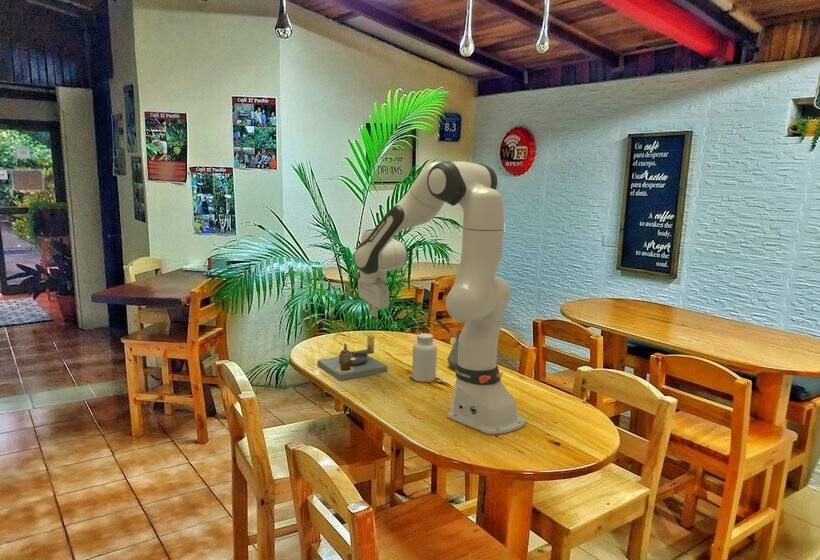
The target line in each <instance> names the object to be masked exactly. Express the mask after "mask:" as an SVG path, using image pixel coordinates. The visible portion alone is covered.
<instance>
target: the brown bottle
mask: <svg viewBox="0 0 820 560" xmlns="http://www.w3.org/2000/svg"><path fill="white" fill-rule="evenodd" d="M347 346H348V345H347V343H343V349H342V350H341V351H340V352H339V355H340V370H342V371H348V370H350V352H351V351H350V350H349V349H348V347H347Z"/></svg>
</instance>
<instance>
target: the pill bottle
mask: <svg viewBox="0 0 820 560" xmlns="http://www.w3.org/2000/svg"><path fill="white" fill-rule="evenodd" d="M437 354H438V347H437V345H436V343H434V335H433V334H431V333H425V332H422V333H418V334H417V335H416V342H415V343H414V344H413V346H412V362H411V363H412V369H411V371H412V372H411V375H412V376H411V378H412V379H413V380H414V381H417V382H421V383H428V382H429V383H430V382H433V381H435V380H436V377H437V374H436V373H437Z"/></svg>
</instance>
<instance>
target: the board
mask: <svg viewBox="0 0 820 560" xmlns="http://www.w3.org/2000/svg"><path fill="white" fill-rule="evenodd" d="M317 366H318V367H319V368H321V369H322V370H324V371H325V372H326V373H328V374H329V375H331V376H333V377H334V378H335V379H337V380H339V381H340V382H342V381H343V382H344V381H348V380H353V379H358V378H362V377H367V376H372V375H376V374H382V373H387V372H388V369H389V367H388V365H387V364H384V363H383V362H381V361H379V360H378V359H376V358H373V356H370V355H368V361H367V363H366V364H363V365H358V366H350V370H348V371H342V370H340V363H339V355H337V356H333V357H327V358H322V359H317Z"/></svg>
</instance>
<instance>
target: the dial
mask: <svg viewBox="0 0 820 560" xmlns="http://www.w3.org/2000/svg"><path fill="white" fill-rule="evenodd" d="M366 337H367V338H366V339H367V340H366V341H367V342H366V343H367V344H366V345H367V346H366V347H367V348H366V349H360V350H355V351H354V350H353V351H350V366H358V365H363V364H366V363H367V361H368V356H369V354H370V355H372V354H375V336H374V335H367V336H366ZM338 356H339V363H340V354H339V355H338Z"/></svg>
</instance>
